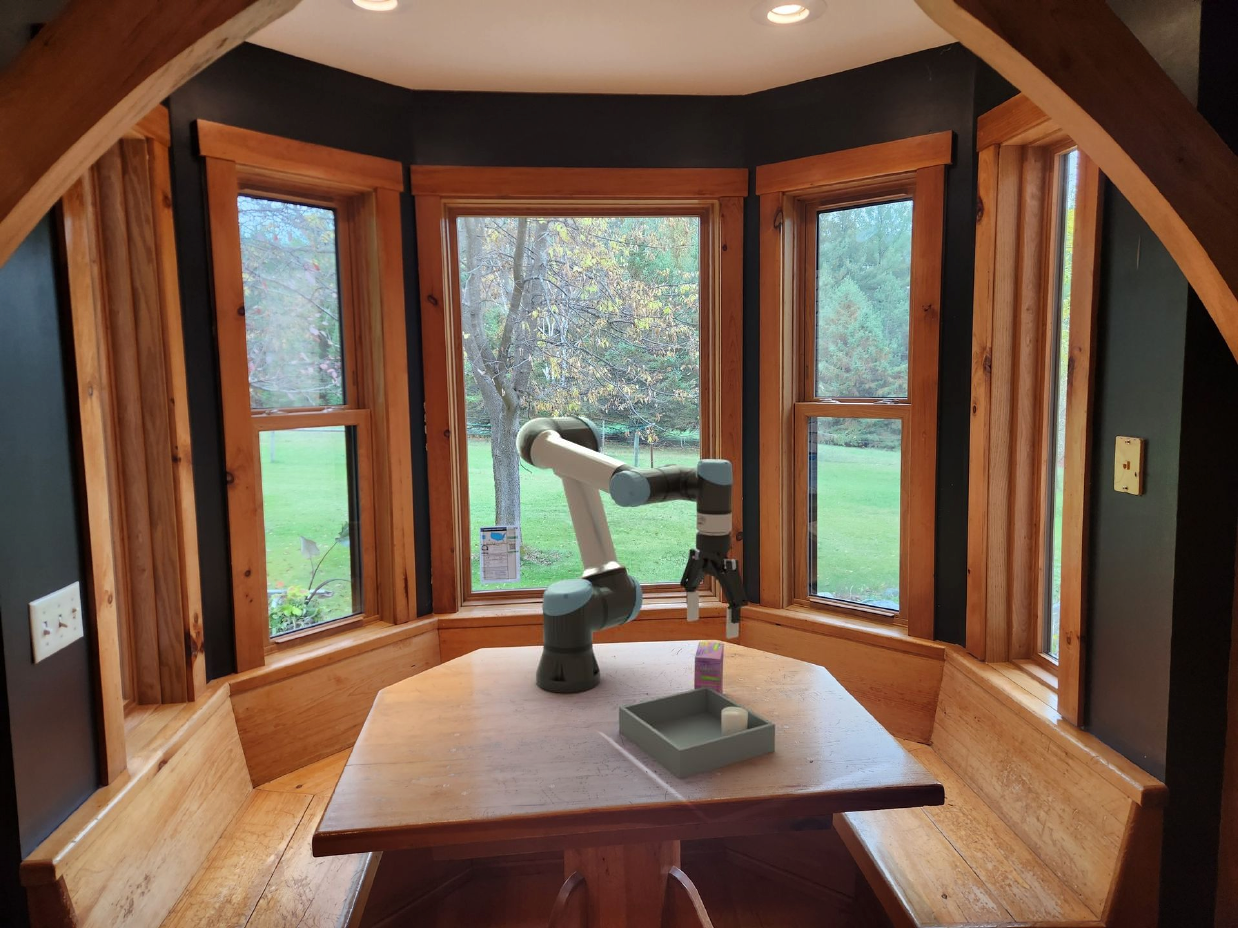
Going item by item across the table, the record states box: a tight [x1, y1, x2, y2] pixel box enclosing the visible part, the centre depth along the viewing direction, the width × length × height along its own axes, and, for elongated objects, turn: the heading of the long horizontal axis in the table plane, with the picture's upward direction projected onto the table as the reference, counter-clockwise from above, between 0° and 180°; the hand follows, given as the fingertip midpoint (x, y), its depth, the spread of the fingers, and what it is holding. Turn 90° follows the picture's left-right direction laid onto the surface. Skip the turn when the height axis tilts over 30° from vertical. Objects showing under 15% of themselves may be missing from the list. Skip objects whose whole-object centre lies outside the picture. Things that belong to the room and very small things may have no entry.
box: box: [693, 641, 725, 695], centre depth 172 cm, size 10×6×12 cm, turn 168°
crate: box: [618, 686, 776, 780], centre depth 151 cm, size 22×22×6 cm
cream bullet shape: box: [721, 707, 748, 737], centre depth 151 cm, size 5×5×6 cm
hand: (711, 628), depth 169 cm, fingers open, 13 cm apart
